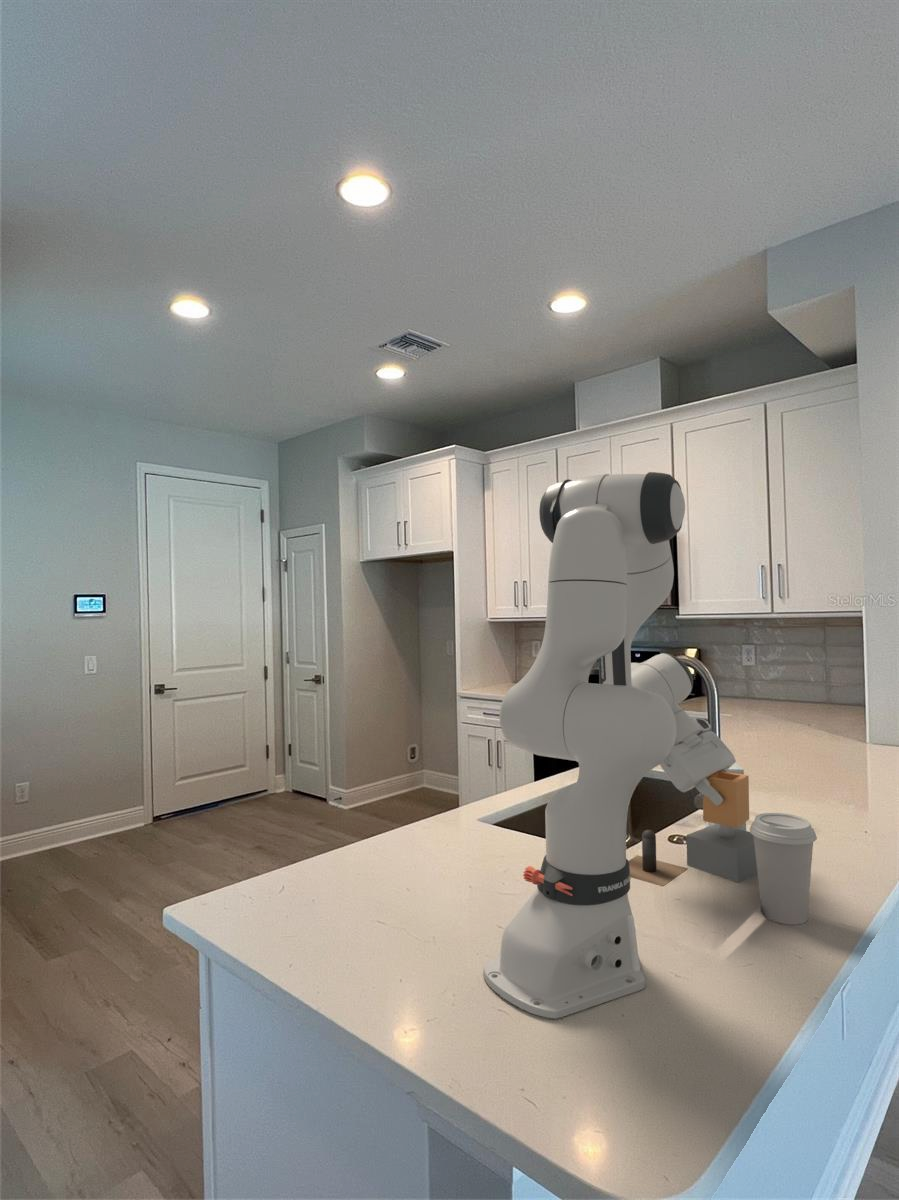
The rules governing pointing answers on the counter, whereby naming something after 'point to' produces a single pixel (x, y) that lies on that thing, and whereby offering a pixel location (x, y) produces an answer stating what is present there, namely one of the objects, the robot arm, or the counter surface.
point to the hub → (722, 852)
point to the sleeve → (728, 799)
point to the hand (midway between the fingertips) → (729, 797)
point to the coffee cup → (783, 865)
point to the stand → (652, 863)
